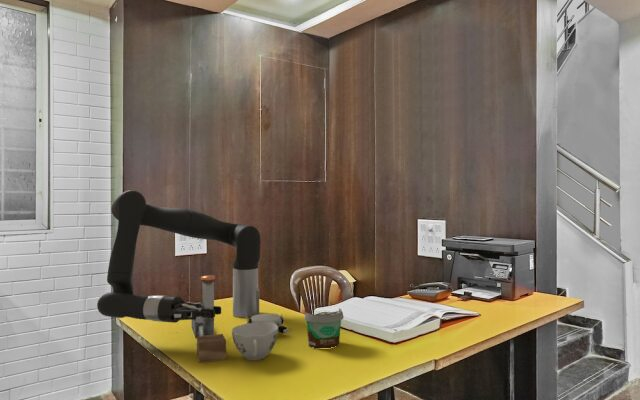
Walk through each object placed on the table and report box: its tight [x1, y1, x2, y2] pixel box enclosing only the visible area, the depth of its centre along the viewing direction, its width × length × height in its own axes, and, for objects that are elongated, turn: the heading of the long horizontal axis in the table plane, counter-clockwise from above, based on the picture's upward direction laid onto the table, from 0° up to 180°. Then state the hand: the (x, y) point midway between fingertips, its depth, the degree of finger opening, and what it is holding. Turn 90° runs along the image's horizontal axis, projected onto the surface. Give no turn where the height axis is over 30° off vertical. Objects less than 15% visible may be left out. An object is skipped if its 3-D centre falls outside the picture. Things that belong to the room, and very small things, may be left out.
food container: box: [303, 308, 344, 349], centre depth 134 cm, size 12×6×10 cm, turn 117°
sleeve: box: [191, 317, 203, 339], centre depth 149 cm, size 13×5×5 cm, turn 21°
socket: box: [196, 333, 227, 364], centre depth 125 cm, size 6×7×5 cm
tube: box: [197, 274, 216, 336], centre depth 135 cm, size 22×4×20 cm, turn 21°
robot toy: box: [245, 313, 290, 334], centre depth 148 cm, size 12×4×15 cm
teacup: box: [231, 322, 279, 361], centre depth 124 cm, size 15×12×8 cm
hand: (217, 312), depth 130 cm, fingers closed on tube, 3 cm apart
